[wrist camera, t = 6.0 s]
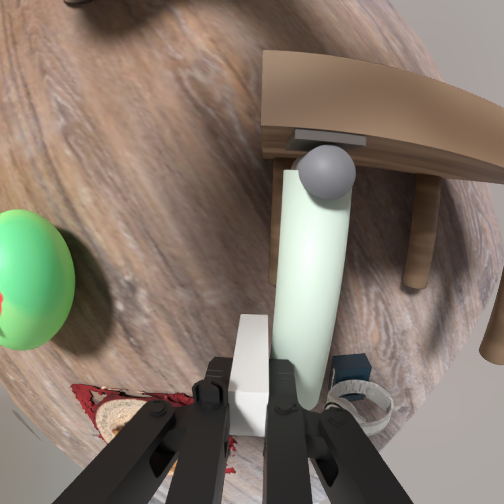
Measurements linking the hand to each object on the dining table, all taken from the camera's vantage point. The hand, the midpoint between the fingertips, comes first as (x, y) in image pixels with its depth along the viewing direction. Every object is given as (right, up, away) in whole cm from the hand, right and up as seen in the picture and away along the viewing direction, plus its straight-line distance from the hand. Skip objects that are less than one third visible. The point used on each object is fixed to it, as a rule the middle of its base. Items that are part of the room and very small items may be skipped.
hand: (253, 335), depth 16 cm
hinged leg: (+3, +3, -1) cm, 4 cm away
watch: (+12, -11, +19) cm, 25 cm away
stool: (+11, +9, +13) cm, 19 cm away
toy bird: (-28, +3, +17) cm, 33 cm away
